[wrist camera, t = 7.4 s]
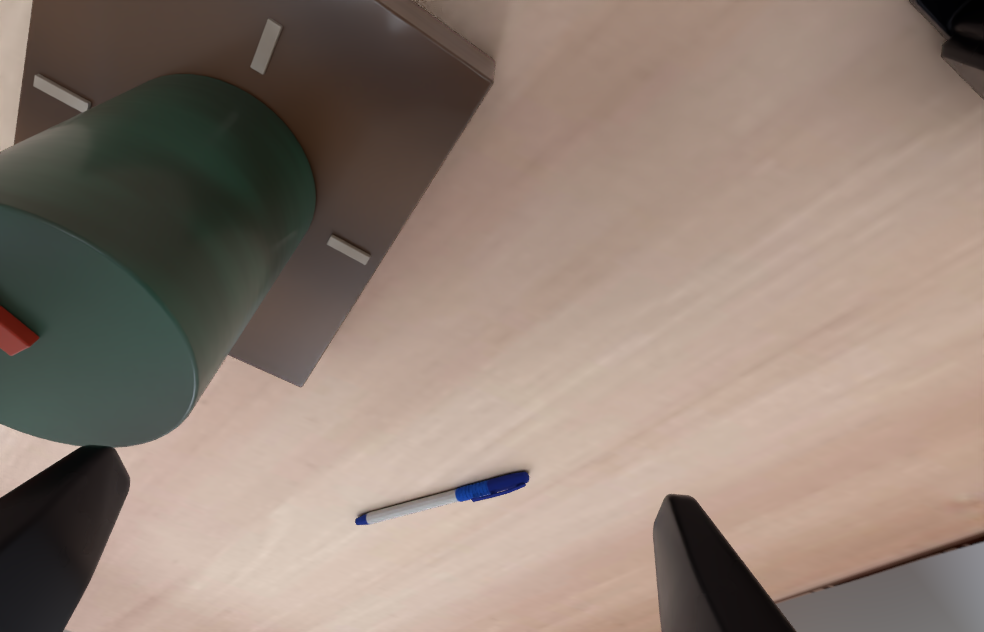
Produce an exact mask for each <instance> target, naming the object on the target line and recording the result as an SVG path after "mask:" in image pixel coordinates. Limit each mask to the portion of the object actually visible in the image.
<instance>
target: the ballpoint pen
mask: <svg viewBox="0 0 984 632" xmlns="http://www.w3.org/2000/svg"><path fill="white" fill-rule="evenodd" d="M528 481H529V475H528V473H527V472H518V473H512V474H507V475H503V476H500V477H496V478H492V479H488V481H487V480H485V481H481V482H478V483H474V484H471V485H466V486H462V487H461V488H460V487H458V488H457V489H455V490H451V491H448V492H444V493H440V494H436V495H433V496H429V497H425V498H421V499H418V500H414V501H410V502H406V503H403V504H399V505H395V506H391V507H388V508H384V509H380V510H376V511H373V512H369V513H367V514H364V515H362V516H360V517H358V518H356V520H355V523H356V525H368V524H373V523H377V522H381V521H385V520H389V519H393V518H396V517H400V516H404V515H408V514H412V513H416V512H420V511H423V510H427V509H431V508H435V507H439V506H443V505H447V504H450V503H454V502H458V501H460V502H462V501H466V500H470V499H471V500H472V501H473V502H475V501H480V500H484V499H488V498H492V497H496V496H500V495H504V494H507V493H510V492H512V491H515V490H518V489H520V488H522V487H524V486H526V484H525V483H527V482H528ZM507 489H508V490H507ZM504 490H505V491H504ZM500 491H502V492H500ZM497 492H498V493H497ZM489 494H490V495H489ZM480 496H481V497H480Z"/></svg>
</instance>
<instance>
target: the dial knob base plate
mask: <svg viewBox="0 0 984 632" xmlns="http://www.w3.org/2000/svg"><path fill="white" fill-rule="evenodd" d="M495 66H496V61H495V60H494V59H492V58H491V57H489V56H488V55H487V54H485V53H484V52H483V51H481V50H480V49H478V48H477V47H476V46H474V45H473V44H471V43H470V42H469V41H467V40H466V39H464V38H463V37H462V36H460V35H459V34H457V33H456V32H455V31H453V30H452V29H450V28H449V27H448V26H446V25H445V24H444V23H442V22H441V21H439V20H438V19H437V18H435V17H434V16H432V15H431V14H430V13H428V12H427V11H425V10H424V9H423V8H421V7H420V6H418V5H417V4H416V3H414V2H413V1H411V0H33V4H32V12H31V19H30V27H29V34H28V42H27V49H26V57H25V64H24V72H23V79H22V87H21V95H20V102H19V110H18V117H17V125H16V132H15V140H14V145H15V144H17V143H19V142H22V141H24V140H26V139H28V138H30V137H32V136H34V135H36V134H38V133H40V132H43V131H45V130H47V129H49V128H51V127H53V126H55V125H57V124H59V123H61V122H64V121H66V120H68V119H70V118H72V117H74V116H76V115H78V114H80V113H82V112H84V111H87V110H89V109H91V108H93V107H95V106H97V105H99V104H101V103H103V102H105V101H108V100H110V99H112V98H114V97H116V96H118V95H120V94H122V93H124V92H126V91H128V90H131V89H133V88H135V87H137V86H139V85H141V84H143V83H145V82H147V81H149V80H152V79H155V78H158V77H161V76H167V75H173V74H193V75H200V76H206V77H210V78H214V79H217V80H221V81H223V82H226V83H228V84H231V85H233V86H236V87H237V88H239V89H241V90H243V91H245V92H247V93H249V94H250V95H252V96H253V97H255V98H256V99H258V100H259V101H261V102H262V103H263V104H265V105H266V106H267V107H268V108H269V109H271V110H272V111H273V112H274V113H275V114H276V115H277V116H278V117H279V118H280V119H281V120H282V121H283V122H284V123H285V124H286V126H287V127H288V128H289V129H290V131H291V132H292V133H293V135H294V136H295V137H296V139H297V141H298V142H299V144H300V145H301V147H302V149H303V151H304V153H305V155H306V157H307V159H308V162H309V165H310V168H311V170H312V174H313V178H314V183H315V192H316V203H315V211H314V215H313V220H312V222H311V224H310V227H309V229H308V231H307V232H306V234H305V236H304V237H303V239H302V240H301V242H300V243H299V245H298V247H297V248H296V250H295V251H294V253H293V254H292V256H291V257H290V259H289V260H288V262H287V264H286V265H285V267H284V268H283V270H282V271H281V273H280V274H279V276H278V278H277V279H276V281H275V282H274V284H273V285H272V287H271V288H270V290H269V292H268V293H267V295H266V296H265V298H264V299H263V301H262V302H261V304H260V306H259V307H258V309H257V310H256V312H255V313H254V315H253V316H252V318H251V320H250V321H249V323H248V324H247V326H246V327H245V329H244V330H243V332H242V333H241V335H240V337H239V338H238V340H237V341H236V343H235V344H234V346H233V347H232V349H231V351H230V352H229V354H228V355H230V356H232V357H234V358H236V359H238V360H241V361H243V362H245V363H247V364H250V365H252V366H254V367H256V368H258V369H261V370H263V371H265V372H267V373H270V374H272V375H274V376H276V377H279V378H281V379H283V380H285V381H287V382H290V383H292V384H294V385H296V386H299V387H302V386H303V385H304V384H305V382H306V380H307V379H308V377H309V376H310V374H311V373H312V371H313V369H314V368H315V366H316V365H317V363H318V361H319V360H320V358H321V357H322V355H323V353H324V352H325V350H326V349H327V347H328V345H329V344H330V342H331V341H332V339H333V338H334V336H335V334H336V333H337V331H338V330H339V328H340V326H341V325H342V323H343V322H344V320H345V318H346V317H347V315H348V314H349V312H350V311H351V309H352V307H353V306H354V304H355V303H356V301H357V299H358V298H359V296H360V295H361V293H362V291H363V290H364V288H365V287H366V285H367V283H368V282H369V280H370V279H371V277H372V276H373V274H374V272H375V271H376V269H377V268H378V266H379V264H380V263H381V261H382V260H383V258H384V256H385V255H386V253H387V252H388V250H389V248H390V247H391V245H392V244H393V242H394V241H395V239H396V237H397V236H398V234H399V233H400V231H401V229H402V228H403V226H404V225H405V223H406V221H407V220H408V218H409V217H410V215H411V213H412V212H413V210H414V209H415V207H416V206H417V204H418V202H419V201H420V199H421V198H422V196H423V194H424V193H425V191H426V190H427V188H428V186H429V185H430V183H431V182H432V180H433V179H434V177H435V175H436V174H437V172H438V171H439V169H440V167H441V166H442V164H443V163H444V161H445V159H446V158H447V156H448V155H449V153H450V151H451V150H452V148H453V147H454V145H455V144H456V142H457V140H458V139H459V137H460V136H461V134H462V132H463V131H464V129H465V128H466V126H467V124H468V123H469V121H470V120H471V118H472V116H473V115H474V113H475V112H476V110H477V109H478V107H479V105H480V104H481V102H482V101H483V99H484V97H485V96H486V94H487V93H488V91H489V89H490V88H491V86H492V85H493V80H494V73H495Z"/></svg>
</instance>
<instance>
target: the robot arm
mask: <svg viewBox="0 0 984 632" xmlns="http://www.w3.org/2000/svg"><path fill="white" fill-rule="evenodd" d="M909 1H910V3H911V4H912V5H913V6H914V7H915V8H916V9H917V10H918V11H919V12H920V13H921V14H922V15H923V16H924V17H925V18H926V19H927V20H928V21H929V22H930V23H931V24H932V25H933V26H934V27H935V28H936V29H937V30H938V32H939V33H940V34H941V35H942V36H943V37H944V38H945V39H946V40H947V41H946V42H945V43H944V44H943V45H942V52H941V57H942V58H943V59H944V60H945V61H946V62H947V63H948V64H949V65H950V66H951V67H952V68H953V69H954V70H955V71H956V72H957V73H958V74H959V75H960V76H961V77H962V78H963V79H964V80H965V81H966V82H967V83H968V84H969V85H970V86H971V87H972V88H973V89H974V90H975V91H976V92H977V93H978V94H979V96H980V97H981V98H982V99H983V100H984V0H909ZM129 487H130V477H129V474H128V473H127V471H126V469H125V467H124V465H123V463H122V461H121V459H120V457H119V455H118V453H117V451H116V450H115V449H114V448H112V447H110V446H101V445H85V446H82V447H80V448H78V449H77V450H75V451H73V452H72V453H70V454H69V455H67V456H66V457H64V458H62V459H61V460H59V461H58V462H56V463H55V464H53V465H51V466H50V467H48V468H47V469H45V470H44V471H42V472H40V473H39V474H37V475H36V476H34V477H32V478H31V479H29V480H28V481H26V482H25V483H23V484H21V485H20V486H18V487H17V488H15V489H14V490H12V491H10V492H9V493H7V494H6V495H4V496H3V497H1V498H0V632H63V630H64V628H65V627H66V625H67V623H68V621H69V619H70V618H71V616H72V614H73V612H74V610H75V608H76V607H77V605H78V603H79V601H80V599H81V597H82V595H83V594H84V592H85V590H86V588H87V586H88V584H89V582H90V580H91V578H92V576H93V573H94V571H95V569H96V567H97V565H98V562H99V560H100V557H101V555H102V553H103V550H104V548H105V546H106V543H107V541H108V539H109V536H110V534H111V532H112V529H113V527H114V525H115V522H116V520H117V518H118V515H119V513H120V510H121V508H122V506H123V503H124V501H125V499H126V496H127V494H128V491H129ZM653 542H654V553H655V565H656V577H657V589H658V600H659V612H660V622H661V631H662V632H796V631H795V629H794V628H793V626H792V625H791V624H790V623H789V621H788V620H787V619H786V617H785V616H784V615H783V613H782V612H781V611H780V609H779V608H778V607H777V606H776V604H775V603H774V602H773V600H772V599H771V598H770V596H769V595H768V594H767V592H766V591H765V590H764V588H763V587H762V586H761V585H760V583H759V582H758V581H757V579H756V578H755V577H754V575H753V574H752V573H751V571H750V570H749V569H748V568H747V566H746V565H745V564H744V562H743V561H742V560H741V558H740V557H739V556H738V554H737V553H736V552H735V550H734V549H733V548H732V547H731V545H730V544H729V543H728V541H727V540H726V539H725V537H724V536H723V535H722V533H721V532H720V531H719V530H718V528H717V527H716V526H715V524H714V523H713V522H712V520H711V519H710V518H709V516H708V515H707V514H706V512H705V511H704V510H703V509H702V507H701V506H700V505H699V503H698V502H697V501H696V500H695V499H694V498H693V497H691V496H688V495H677V494H668V495H667V496H666V497H665V498H664V500H663V503H662V505H661V507H660V510H659V512H658V514H657V517H656V519H655V522H654V526H653Z"/></svg>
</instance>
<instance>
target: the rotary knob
mask: <svg viewBox="0 0 984 632" xmlns="http://www.w3.org/2000/svg"><path fill="white" fill-rule="evenodd" d="M315 203H316V192H315V183H314V178H313V174H312V170H311V168H310V165H309V162H308V159H307V157H306V155H305V153H304V151H303V149H302V147H301V145H300V144H299V142H298V141H297V139H296V137H295V136H294V135H293V133H292V132H291V131H290V129H289V128H288V127H287V126H286V124H285V123H284V122H283V121H282V120H281V119H280V118H279V117H278V116H277V115H276V114H275V113H274V112H273V111H272V110H271V109H269V108H268V107H267V106H266V105H265V104H263V103H262V102H261V101H259V100H258V99H256V98H255V97H253V96H252V95H250V94H249V93H247V92H245V91H243V90H241V89H239V88H237V87H236V86H233V85H231V84H228V83H226V82H223V81H221V80H217V79H214V78H210V77H206V76H200V75H193V74H173V75H167V76H161V77H158V78H155V79H152V80H149V81H147V82H145V83H143V84H141V85H139V86H137V87H135V88H133V89H131V90H128V91H126V92H124V93H122V94H120V95H118V96H116V97H114V98H112V99H110V100H108V101H105V102H103V103H101V104H99V105H97V106H95V107H93V108H91V109H89V110H87V111H84V112H82V113H80V114H78V115H76V116H74V117H72V118H70V119H68V120H66V121H64V122H61V123H59V124H57V125H55V126H53V127H51V128H49V129H47V130H45V131H43V132H40V133H38V134H36V135H34V136H32V137H30V138H28V139H26V140H24V141H22V142H19V143H17V144H15V145H13V146H11V147H9V148H7V149H5V150H3V151H1V152H0V424H2V425H5V426H7V427H10V428H12V429H15V430H17V431H20V432H23V433H26V434H29V435H32V436H35V437H39V438H43V439H47V440H50V441H54V442H59V443H64V444H70V445H75V446H85V445H101V446H110V447H112V448H115V447H128V446H133V445H139V444H143V443H146V442H150V441H153V440H156V439H158V438H160V437H162V436H164V435H166V434H168V433H170V432H171V431H172V430H174V429H175V428H177V427H178V426H179V425H180V424H181V423H182V422H183V421H184V420H185V419H186V418H187V417H188V416H189V414H190V413H191V411H192V410H193V408H194V406H195V405H196V403H197V402H198V400H199V399H200V397H201V396H202V394H203V393H204V391H205V389H206V388H207V386H208V385H209V383H210V382H211V380H212V379H213V377H214V375H215V374H216V372H217V371H218V369H219V368H220V366H221V365H222V363H223V361H224V360H225V358H226V357H227V355H228V354H229V352H230V351H231V349H232V347H233V346H234V344H235V343H236V341H237V340H238V338H239V337H240V335H241V333H242V332H243V330H244V329H245V327H246V326H247V324H248V323H249V321H250V320H251V318H252V316H253V315H254V313H255V312H256V310H257V309H258V307H259V306H260V304H261V302H262V301H263V299H264V298H265V296H266V295H267V293H268V292H269V290H270V288H271V287H272V285H273V284H274V282H275V281H276V279H277V278H278V276H279V274H280V273H281V271H282V270H283V268H284V267H285V265H286V264H287V262H288V260H289V259H290V257H291V256H292V254H293V253H294V251H295V250H296V248H297V247H298V245H299V243H300V242H301V240H302V239H303V237H304V236H305V234H306V232H307V231H308V229H309V227H310V224H311V222H312V220H313V215H314V211H315Z"/></svg>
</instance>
